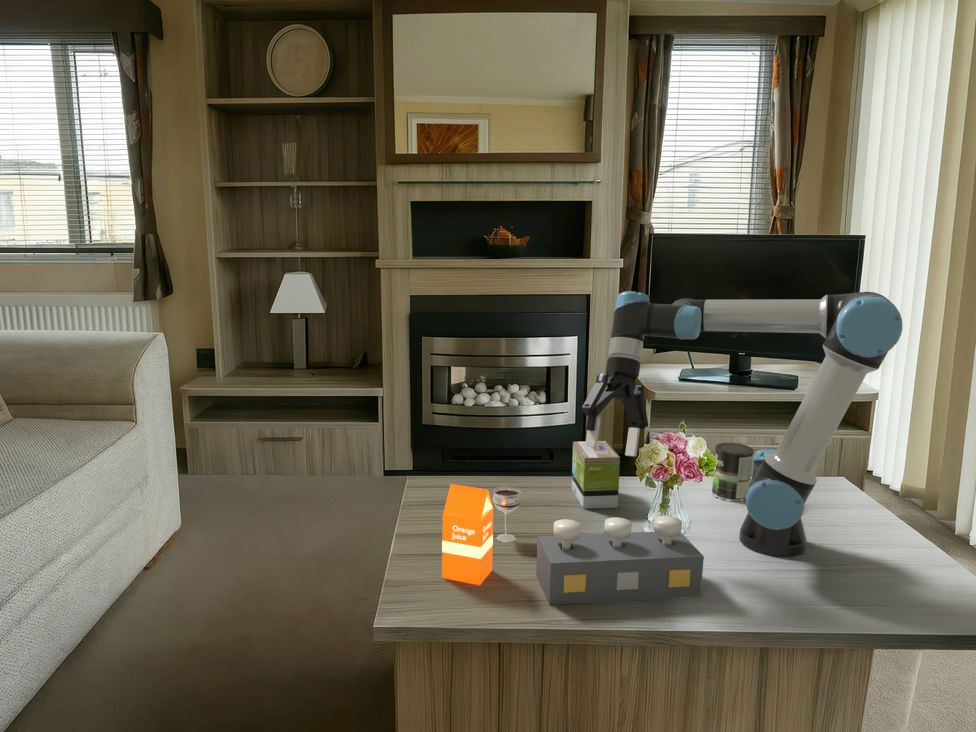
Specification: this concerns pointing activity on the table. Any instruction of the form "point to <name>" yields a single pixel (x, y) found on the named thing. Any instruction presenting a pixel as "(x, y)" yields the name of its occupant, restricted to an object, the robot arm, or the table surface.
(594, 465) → the tea box
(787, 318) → the robot arm
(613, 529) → the middle button
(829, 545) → the table surface
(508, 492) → the wineglass
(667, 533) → the button
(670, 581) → the button console
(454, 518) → the orange juice
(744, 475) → the coffee can
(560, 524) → the button
